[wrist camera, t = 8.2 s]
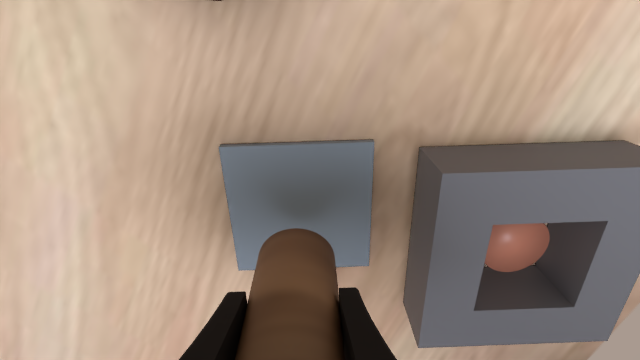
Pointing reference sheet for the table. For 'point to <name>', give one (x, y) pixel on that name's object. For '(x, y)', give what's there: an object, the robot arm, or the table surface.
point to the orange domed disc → (516, 246)
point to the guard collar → (523, 208)
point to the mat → (300, 195)
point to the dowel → (293, 301)
